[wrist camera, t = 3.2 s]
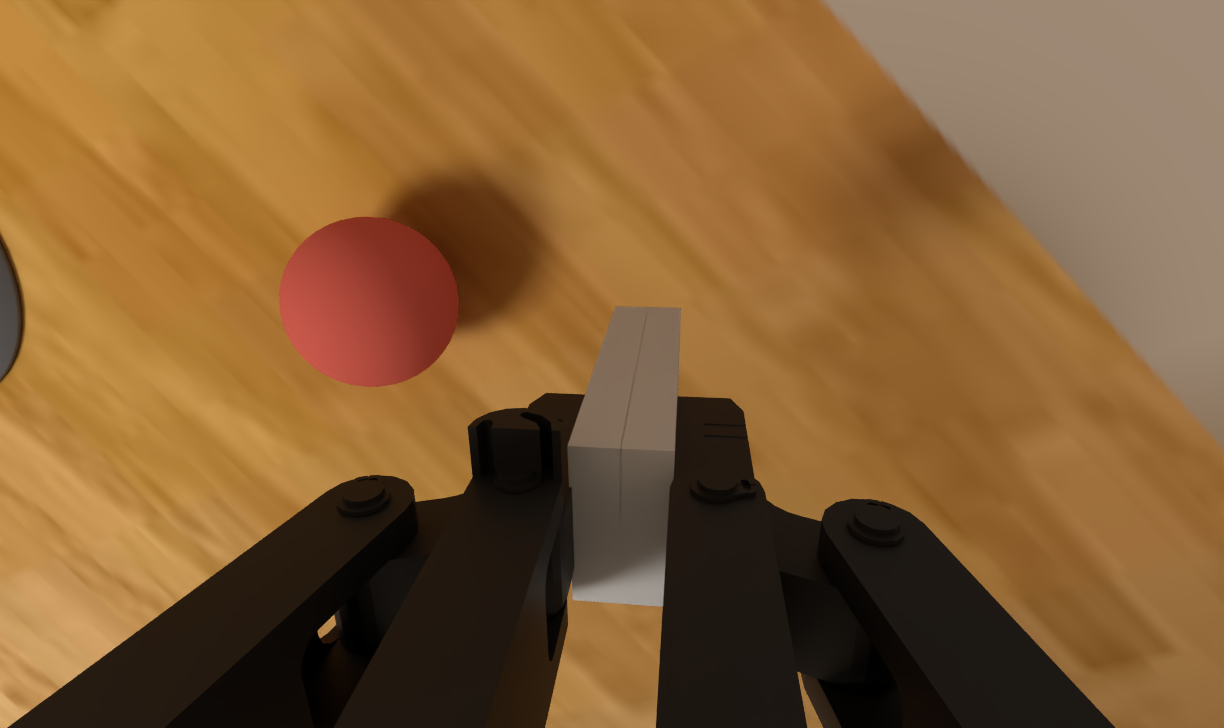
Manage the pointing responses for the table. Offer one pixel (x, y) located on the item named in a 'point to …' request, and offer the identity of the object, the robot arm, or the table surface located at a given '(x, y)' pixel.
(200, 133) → the table surface
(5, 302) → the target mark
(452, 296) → the ball
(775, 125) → the table surface
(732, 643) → the robot arm
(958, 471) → the table surface
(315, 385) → the table surface
